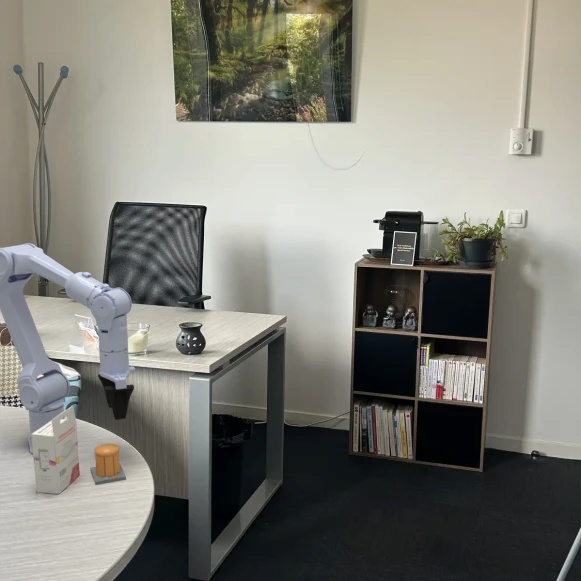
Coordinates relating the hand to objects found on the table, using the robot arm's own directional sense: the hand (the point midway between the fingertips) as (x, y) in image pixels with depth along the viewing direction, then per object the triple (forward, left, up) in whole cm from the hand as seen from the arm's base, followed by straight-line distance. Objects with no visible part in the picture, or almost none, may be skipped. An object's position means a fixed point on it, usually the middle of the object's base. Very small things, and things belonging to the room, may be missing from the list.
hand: (117, 412), depth 151 cm
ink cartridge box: (+8, -13, -10) cm, 18 cm away
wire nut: (+8, -3, -9) cm, 12 cm away
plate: (+8, -3, -10) cm, 13 cm away
